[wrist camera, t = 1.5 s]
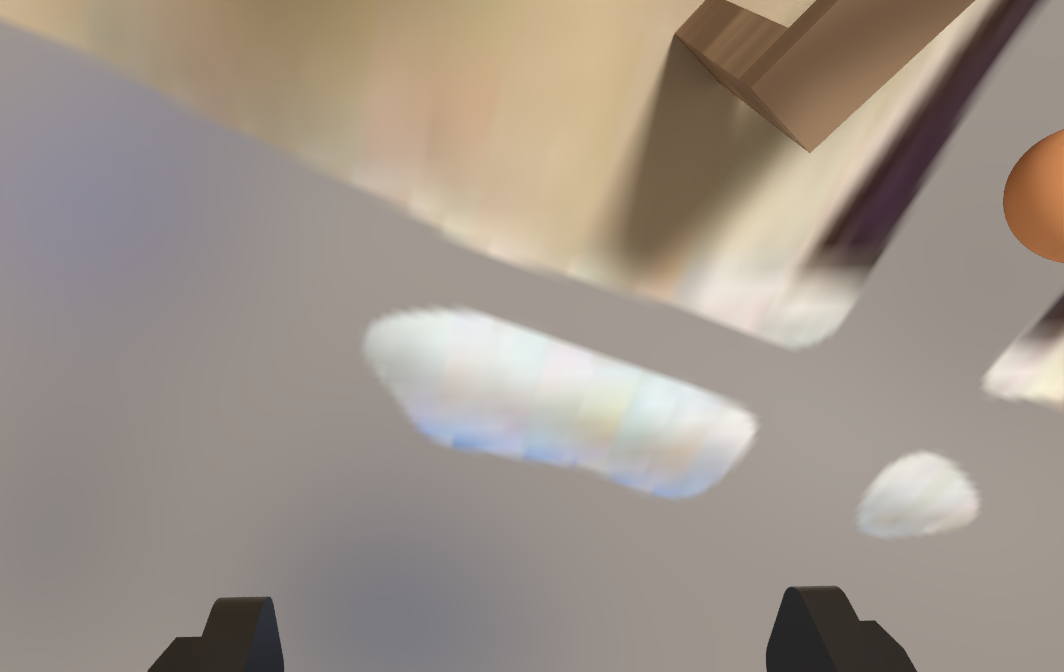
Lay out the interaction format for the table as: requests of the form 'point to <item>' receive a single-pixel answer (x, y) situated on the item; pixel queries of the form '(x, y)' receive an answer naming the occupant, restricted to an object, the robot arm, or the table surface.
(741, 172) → the table surface
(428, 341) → the table surface
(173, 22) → the table surface
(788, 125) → the bridge
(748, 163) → the table surface
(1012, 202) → the ball
